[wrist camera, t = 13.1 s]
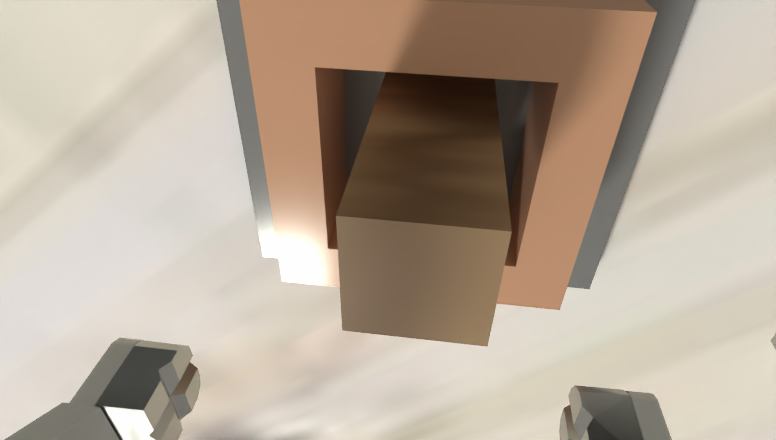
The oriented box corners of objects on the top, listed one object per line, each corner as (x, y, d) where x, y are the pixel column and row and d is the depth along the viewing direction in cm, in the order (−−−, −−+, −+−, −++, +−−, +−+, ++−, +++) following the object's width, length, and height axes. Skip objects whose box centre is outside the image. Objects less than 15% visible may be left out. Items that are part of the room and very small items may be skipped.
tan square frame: (723, -118, 15) (815, -102, 11) (585, 274, 25) (607, 358, 21) (205, -133, 16) (122, -123, 12) (268, 243, 26) (233, 316, 22)
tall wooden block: (494, 78, 18) (511, 232, 11) (480, 172, 21) (487, 346, 14) (385, 71, 19) (335, 215, 12) (384, 164, 21) (342, 330, 14)
